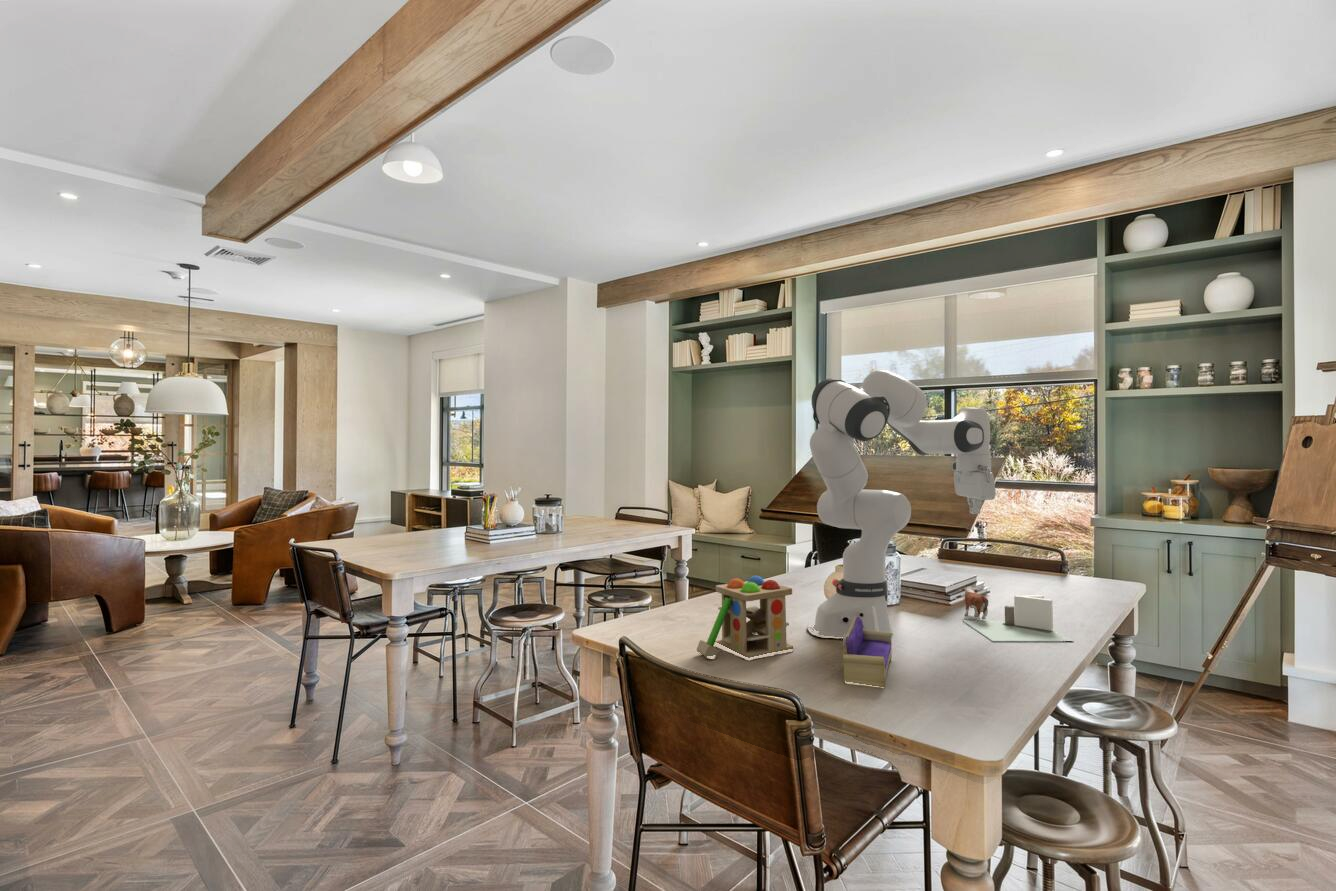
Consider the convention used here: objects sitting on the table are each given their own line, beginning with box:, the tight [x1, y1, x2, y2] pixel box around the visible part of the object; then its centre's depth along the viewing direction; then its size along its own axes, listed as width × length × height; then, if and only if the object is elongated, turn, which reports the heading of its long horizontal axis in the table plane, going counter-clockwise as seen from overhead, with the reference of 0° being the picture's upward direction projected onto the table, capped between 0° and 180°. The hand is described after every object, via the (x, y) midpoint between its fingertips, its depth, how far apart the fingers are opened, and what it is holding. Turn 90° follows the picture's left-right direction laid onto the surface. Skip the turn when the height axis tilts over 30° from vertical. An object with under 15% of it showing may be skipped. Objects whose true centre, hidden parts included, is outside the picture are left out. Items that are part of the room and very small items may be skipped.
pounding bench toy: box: [696, 575, 794, 658], centre depth 165 cm, size 23×14×18 cm, turn 119°
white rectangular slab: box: [1013, 594, 1054, 631], centre depth 179 cm, size 9×2×8 cm, turn 47°
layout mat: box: [963, 620, 1074, 643], centre depth 178 cm, size 20×20×1 cm
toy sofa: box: [842, 617, 893, 688], centre depth 148 cm, size 21×9×10 cm, turn 157°
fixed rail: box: [1004, 594, 1045, 625], centre depth 183 cm, size 10×2×8 cm, turn 86°
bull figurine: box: [961, 586, 989, 621], centre depth 193 cm, size 4×13×8 cm, turn 174°
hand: (975, 513), depth 186 cm, fingers closed
